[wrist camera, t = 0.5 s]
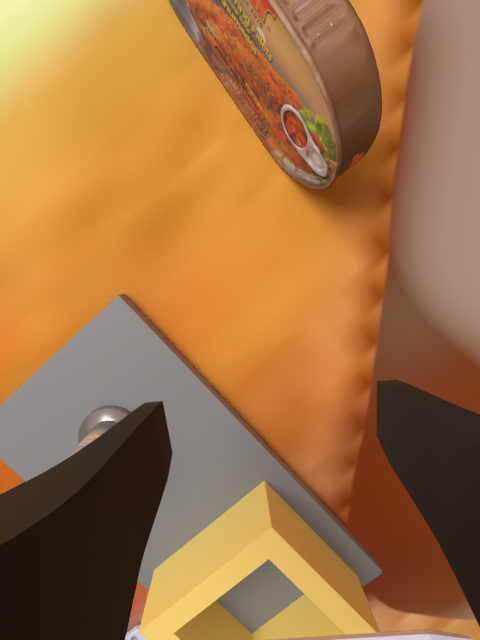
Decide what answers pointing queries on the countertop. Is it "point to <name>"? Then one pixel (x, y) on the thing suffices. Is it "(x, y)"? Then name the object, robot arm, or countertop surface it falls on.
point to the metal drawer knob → (99, 424)
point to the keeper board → (186, 441)
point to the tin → (294, 77)
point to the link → (242, 559)
